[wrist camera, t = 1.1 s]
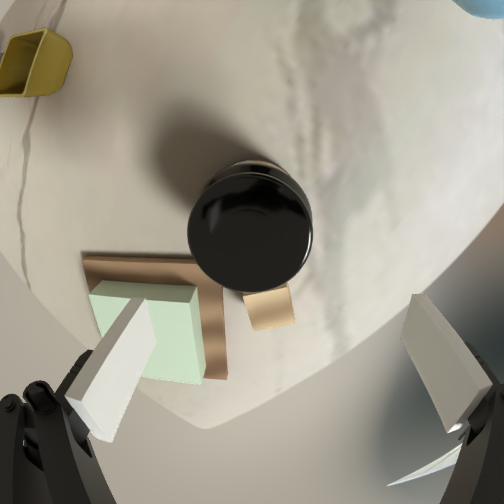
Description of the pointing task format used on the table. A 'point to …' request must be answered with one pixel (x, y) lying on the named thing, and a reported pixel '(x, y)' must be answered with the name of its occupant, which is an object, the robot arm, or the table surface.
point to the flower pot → (34, 64)
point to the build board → (172, 274)
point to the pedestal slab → (159, 326)
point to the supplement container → (250, 227)
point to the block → (270, 308)
